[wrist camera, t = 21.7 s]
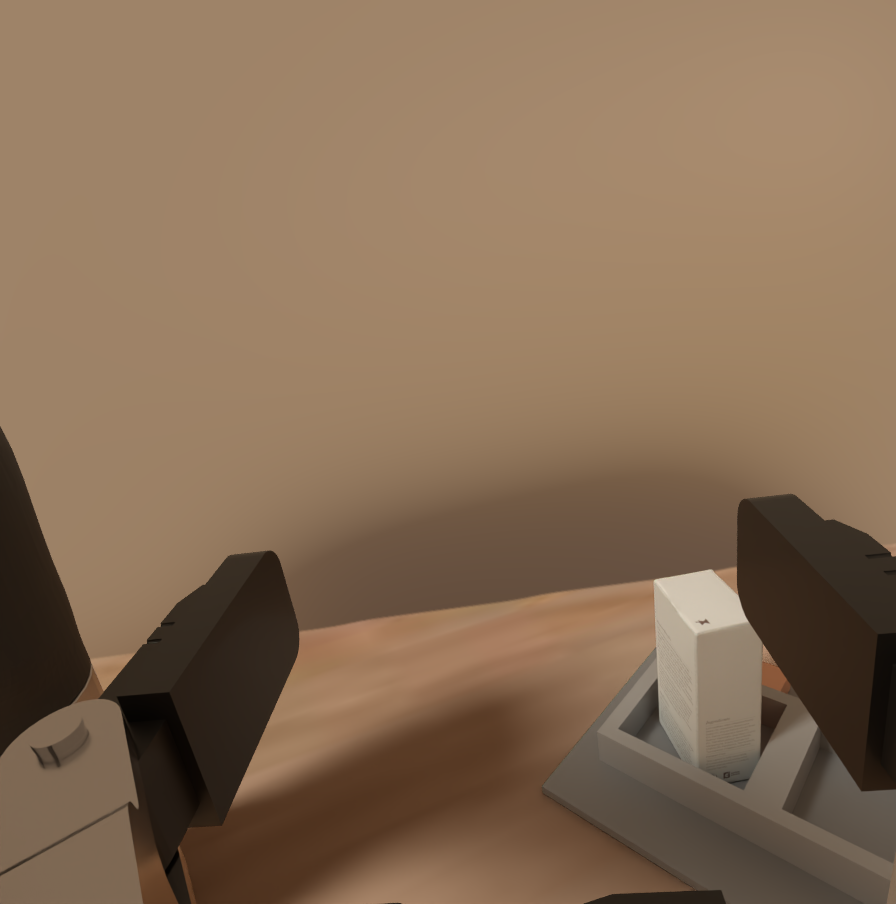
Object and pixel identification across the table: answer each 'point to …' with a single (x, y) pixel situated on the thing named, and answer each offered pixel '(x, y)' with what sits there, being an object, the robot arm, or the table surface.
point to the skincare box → (708, 675)
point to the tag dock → (734, 804)
